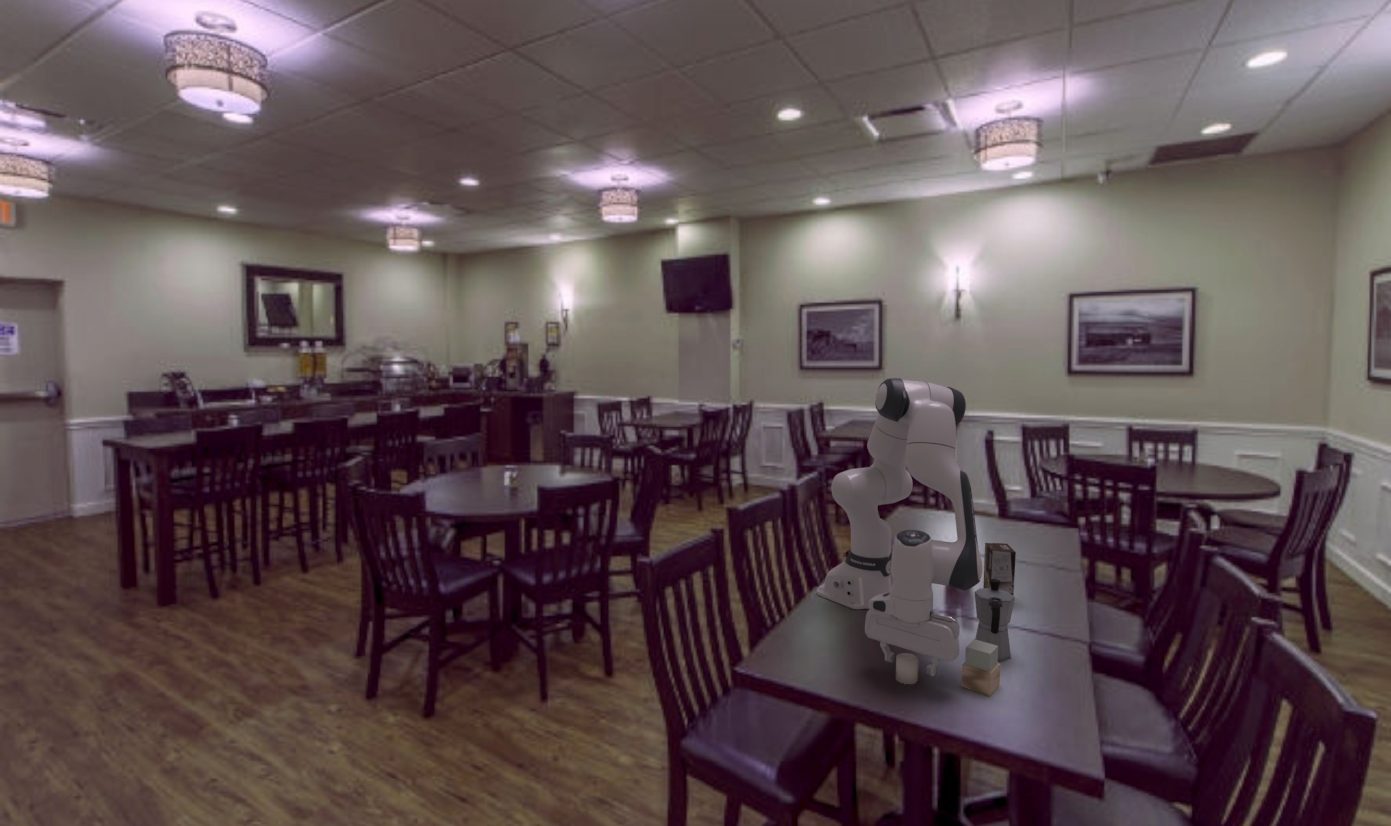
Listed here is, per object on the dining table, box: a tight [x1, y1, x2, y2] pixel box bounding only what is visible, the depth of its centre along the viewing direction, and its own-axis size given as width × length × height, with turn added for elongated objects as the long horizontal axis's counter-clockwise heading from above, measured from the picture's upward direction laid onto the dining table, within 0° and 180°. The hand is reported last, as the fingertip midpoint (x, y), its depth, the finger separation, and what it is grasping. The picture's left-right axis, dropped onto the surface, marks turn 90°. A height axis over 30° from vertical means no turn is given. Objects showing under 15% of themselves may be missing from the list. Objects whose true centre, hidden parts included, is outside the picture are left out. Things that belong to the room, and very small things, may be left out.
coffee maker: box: [973, 579, 1016, 662], centre depth 156 cm, size 15×9×18 cm, turn 159°
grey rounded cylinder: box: [895, 652, 919, 685], centre depth 145 cm, size 5×5×5 cm
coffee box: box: [983, 542, 1017, 596], centre depth 189 cm, size 9×6×16 cm
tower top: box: [964, 639, 999, 672], centre depth 142 cm, size 5×5×4 cm
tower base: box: [960, 660, 1001, 697], centre depth 142 cm, size 6×6×5 cm
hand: (909, 667), depth 144 cm, fingers open, 8 cm apart
